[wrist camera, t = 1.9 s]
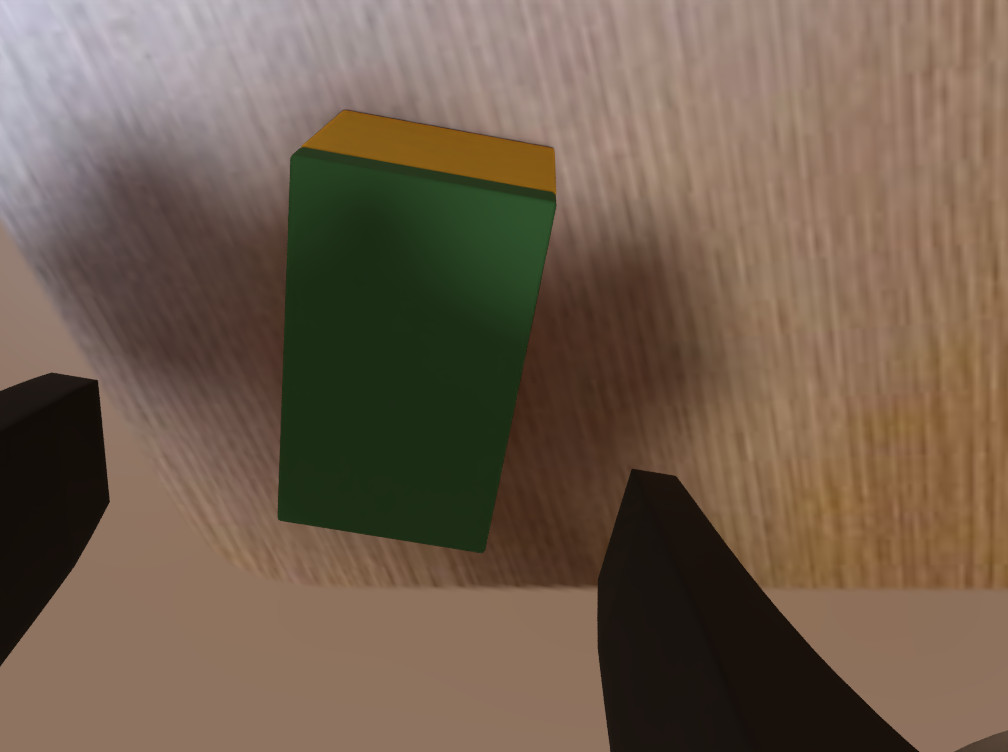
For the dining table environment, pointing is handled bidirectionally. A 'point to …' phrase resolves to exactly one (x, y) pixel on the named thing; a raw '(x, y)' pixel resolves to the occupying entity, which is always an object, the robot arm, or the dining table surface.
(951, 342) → the dining table surface
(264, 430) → the dining table surface
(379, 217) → the sponge
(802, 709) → the robot arm
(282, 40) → the dining table surface
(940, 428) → the dining table surface
